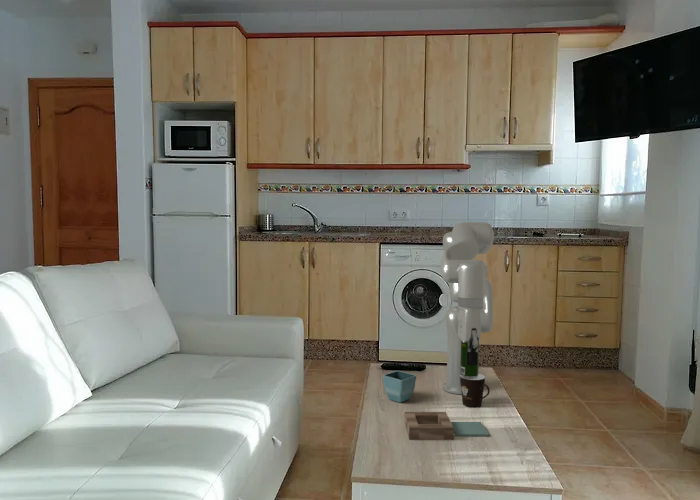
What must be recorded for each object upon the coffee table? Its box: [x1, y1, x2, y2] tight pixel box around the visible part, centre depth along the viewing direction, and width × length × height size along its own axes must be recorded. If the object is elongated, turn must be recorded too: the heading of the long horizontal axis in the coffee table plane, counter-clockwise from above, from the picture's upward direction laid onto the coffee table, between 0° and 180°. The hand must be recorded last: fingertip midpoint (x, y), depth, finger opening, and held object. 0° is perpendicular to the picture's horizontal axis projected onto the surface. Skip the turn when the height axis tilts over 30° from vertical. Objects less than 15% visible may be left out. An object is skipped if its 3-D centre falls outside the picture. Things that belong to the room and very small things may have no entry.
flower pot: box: [382, 370, 417, 403], centre depth 189 cm, size 9×9×9 cm
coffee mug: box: [460, 373, 490, 409], centre depth 183 cm, size 12×9×10 cm
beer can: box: [460, 338, 480, 379], centre depth 161 cm, size 5×5×12 cm
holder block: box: [403, 411, 455, 441], centre depth 161 cm, size 13×13×4 cm
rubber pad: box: [451, 421, 490, 437], centre depth 162 cm, size 10×10×1 cm
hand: (469, 361), depth 161 cm, fingers closed on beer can, 5 cm apart
